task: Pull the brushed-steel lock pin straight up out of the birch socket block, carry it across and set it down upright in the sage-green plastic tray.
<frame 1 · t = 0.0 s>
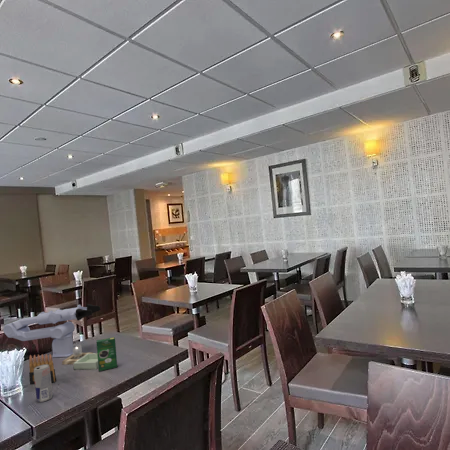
hand: (95, 310, 170), 22 cm above the table, tool horizontal, fingers open, 7 cm apart
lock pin: (77, 353, 163), in the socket
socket: (78, 359, 163), on the table
ammunition clip: (43, 383, 141), on the table
tray: (92, 364, 155), on the table
coffee box: (108, 368, 148), on the table
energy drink: (44, 399, 126), on the table
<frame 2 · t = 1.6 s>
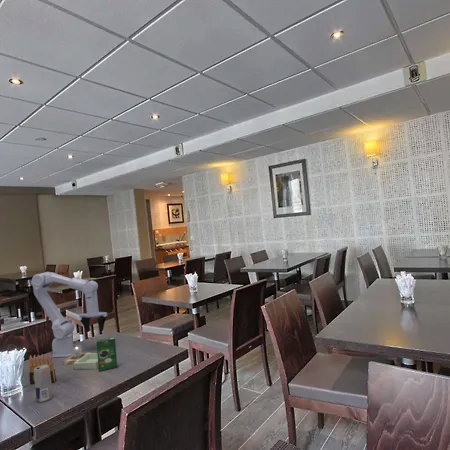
hand: (94, 331, 172), 10 cm above the table, tool pointing down, fingers open, 7 cm apart
nothing on the table moved.
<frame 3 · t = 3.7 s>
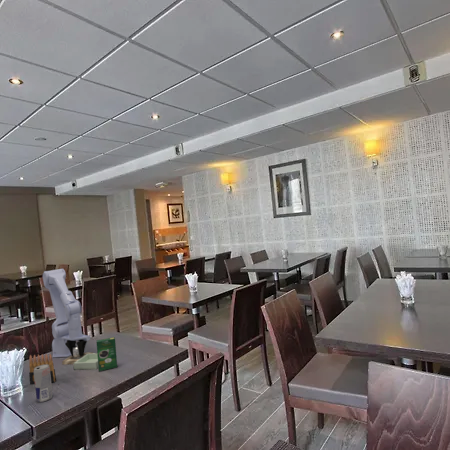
hand: (77, 355, 163), 2 cm above the table, tool pointing down, fingers closed on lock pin, 4 cm apart
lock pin: (77, 353, 163), in the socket, touching gripper
everything else where it was.
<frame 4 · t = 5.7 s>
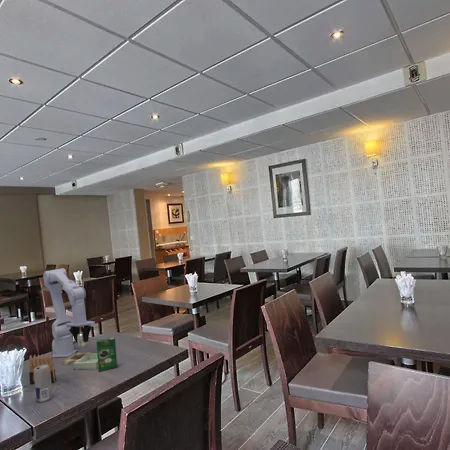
hand: (82, 341, 160), 10 cm above the table, tool pointing down, fingers closed on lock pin, 4 cm apart
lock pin: (81, 339, 160), point 11 cm above the table, touching gripper
everything else where it was.
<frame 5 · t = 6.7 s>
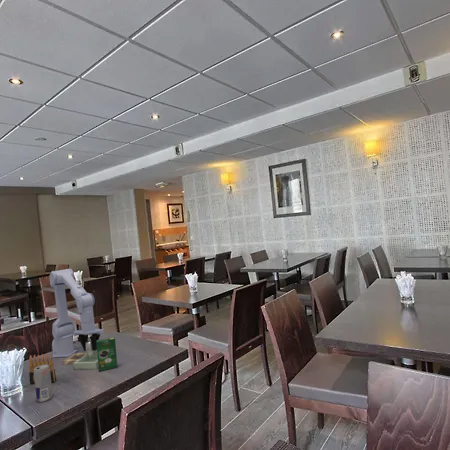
hand: (90, 350, 155), 7 cm above the table, tool pointing down, fingers closed on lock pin, 4 cm apart
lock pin: (90, 347, 155), point 8 cm above the table, touching gripper
everything else where it was.
when the fingers open (4 cm above the table, at t = 7.5 s): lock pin drops 1 cm, resting on tray.
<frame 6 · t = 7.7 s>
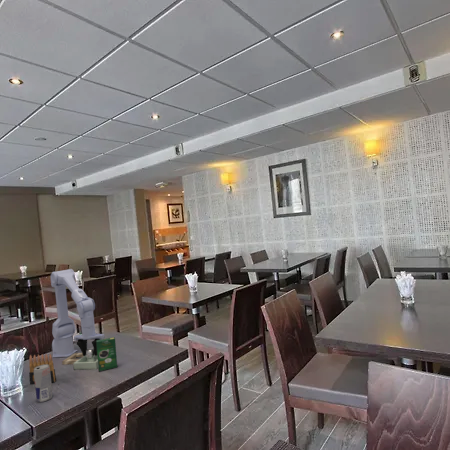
hand: (91, 355, 155), 4 cm above the table, tool pointing down, fingers open, 5 cm apart
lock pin: (91, 356, 155), in the tray, point 4 cm above the table
everything else where it was.
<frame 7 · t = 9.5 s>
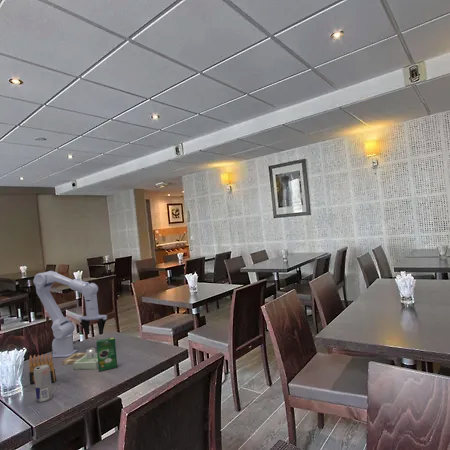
hand: (94, 334, 171), 9 cm above the table, tool pointing down, fingers open, 7 cm apart
nothing on the table moved.
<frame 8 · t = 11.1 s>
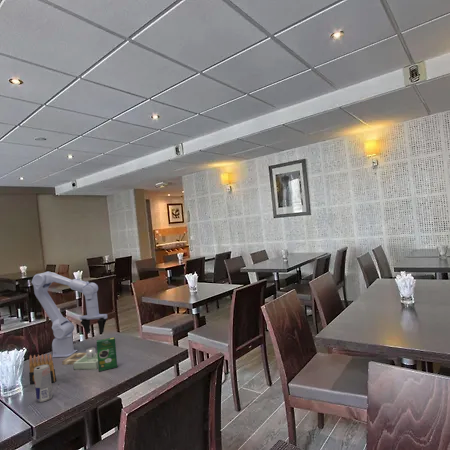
hand: (95, 333, 172), 9 cm above the table, tool pointing down, fingers open, 7 cm apart
nothing on the table moved.
at the end: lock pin 0.0 cm off-centre on the tray, point 3.8 cm above the tray's base; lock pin tilted 0°; the gripper is holding nothing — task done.
